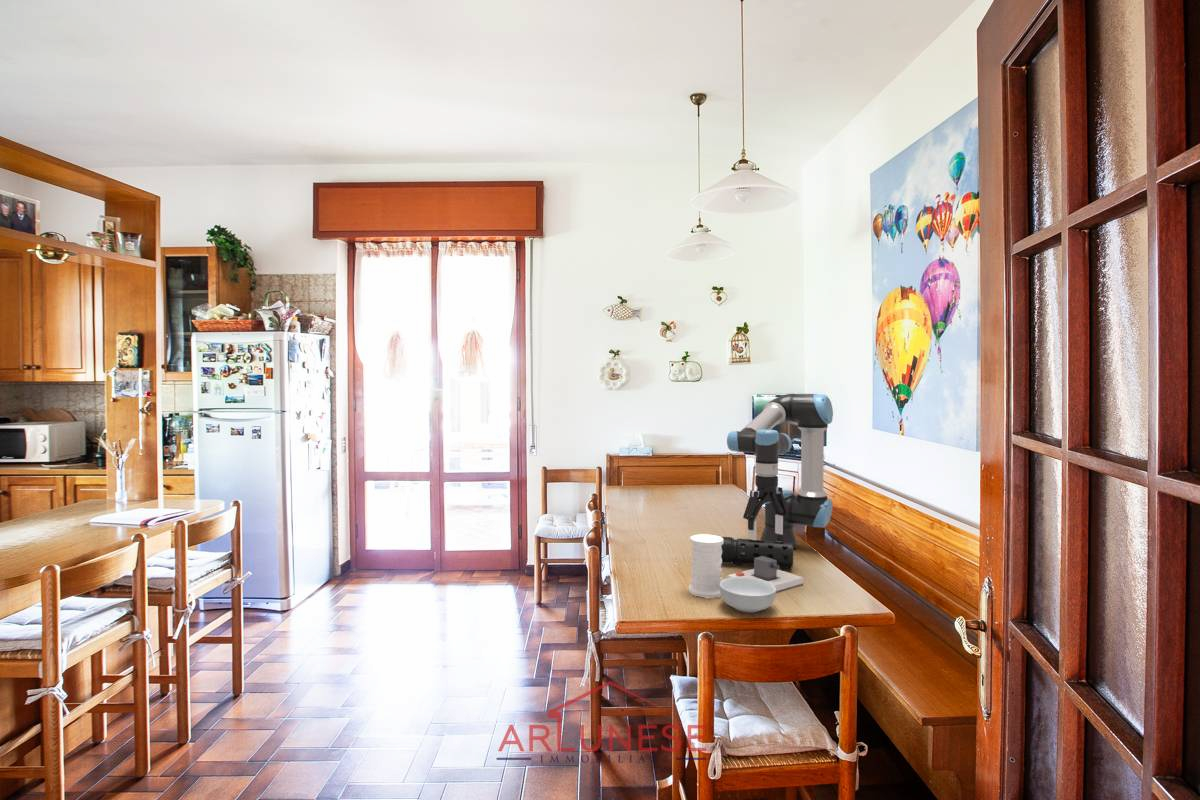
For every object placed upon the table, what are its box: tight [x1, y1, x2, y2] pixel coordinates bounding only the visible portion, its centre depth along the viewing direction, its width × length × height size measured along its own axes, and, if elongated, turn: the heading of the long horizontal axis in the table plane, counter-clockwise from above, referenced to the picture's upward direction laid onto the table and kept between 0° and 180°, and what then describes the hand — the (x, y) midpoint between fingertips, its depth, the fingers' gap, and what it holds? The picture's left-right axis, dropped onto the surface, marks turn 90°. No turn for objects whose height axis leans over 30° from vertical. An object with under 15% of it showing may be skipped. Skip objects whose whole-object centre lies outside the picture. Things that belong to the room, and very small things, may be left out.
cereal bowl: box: [720, 577, 777, 614], centre depth 186 cm, size 17×17×7 cm
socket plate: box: [727, 568, 804, 594], centre depth 208 cm, size 20×16×3 cm
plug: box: [753, 556, 781, 581], centre depth 207 cm, size 8×4×8 cm, turn 36°
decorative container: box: [688, 533, 724, 599], centre depth 199 cm, size 12×12×18 cm
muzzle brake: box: [721, 536, 794, 570], centre depth 228 cm, size 10×28×10 cm, turn 76°
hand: (765, 536), depth 208 cm, fingers open, 13 cm apart
